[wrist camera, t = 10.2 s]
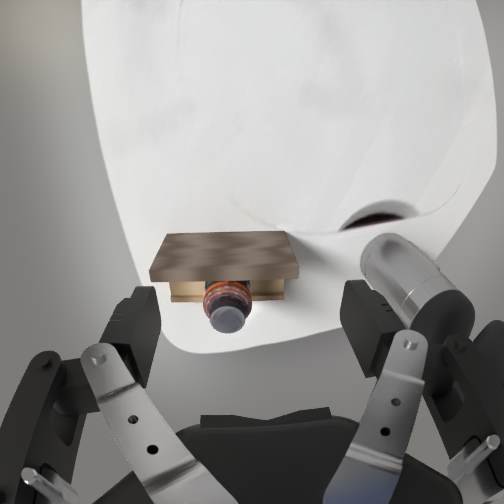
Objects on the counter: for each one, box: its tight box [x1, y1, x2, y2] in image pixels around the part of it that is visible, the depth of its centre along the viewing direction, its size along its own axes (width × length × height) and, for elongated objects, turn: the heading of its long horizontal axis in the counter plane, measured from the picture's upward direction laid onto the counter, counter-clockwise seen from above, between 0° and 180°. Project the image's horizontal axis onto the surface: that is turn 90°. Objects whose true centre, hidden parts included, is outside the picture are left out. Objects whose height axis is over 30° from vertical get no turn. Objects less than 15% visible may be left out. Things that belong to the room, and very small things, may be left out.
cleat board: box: [149, 231, 299, 302], centre depth 40 cm, size 17×10×11 cm, turn 90°
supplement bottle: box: [203, 280, 252, 333], centre depth 38 cm, size 6×6×11 cm
